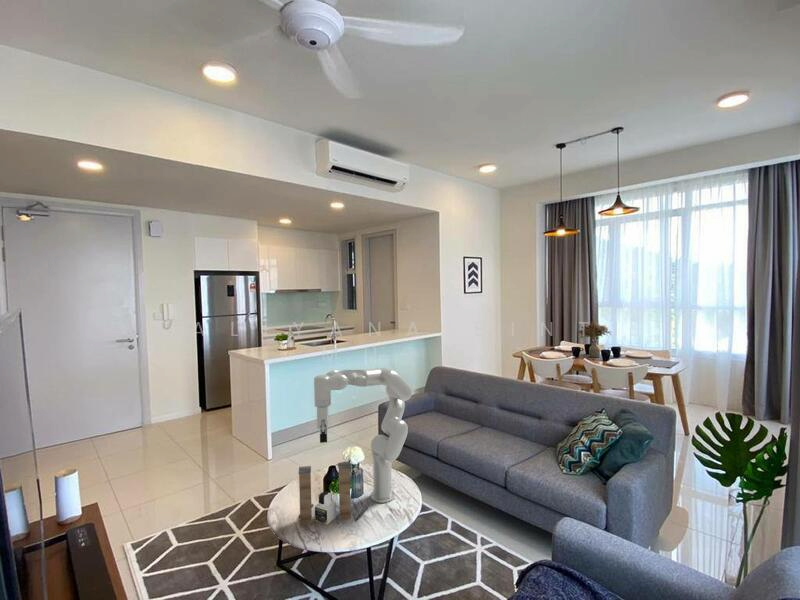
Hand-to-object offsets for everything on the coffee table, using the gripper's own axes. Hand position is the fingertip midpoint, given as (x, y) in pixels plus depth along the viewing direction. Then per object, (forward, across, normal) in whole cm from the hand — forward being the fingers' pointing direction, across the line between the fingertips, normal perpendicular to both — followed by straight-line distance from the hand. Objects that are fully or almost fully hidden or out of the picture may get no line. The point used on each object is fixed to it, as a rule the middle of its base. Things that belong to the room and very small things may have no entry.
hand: (323, 438), depth 179 cm
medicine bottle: (+38, 0, 0) cm, 39 cm away
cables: (+38, -4, +4) cm, 39 cm away
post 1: (+38, 0, -9) cm, 39 cm away
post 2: (+38, 0, +9) cm, 39 cm away
